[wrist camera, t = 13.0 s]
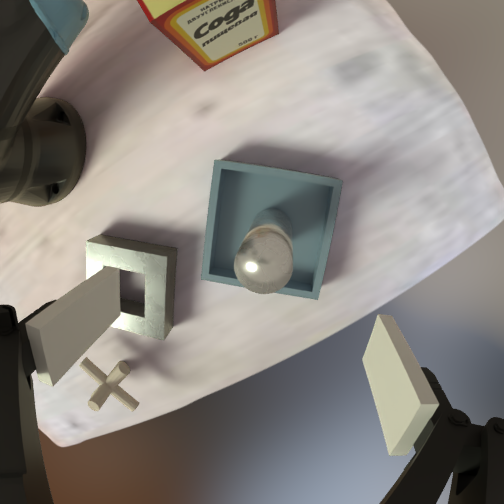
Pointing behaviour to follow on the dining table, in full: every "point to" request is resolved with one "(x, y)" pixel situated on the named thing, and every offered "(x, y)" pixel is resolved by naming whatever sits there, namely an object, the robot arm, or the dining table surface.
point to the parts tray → (270, 197)
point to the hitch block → (156, 281)
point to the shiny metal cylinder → (266, 253)
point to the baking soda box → (213, 26)
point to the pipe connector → (108, 385)
